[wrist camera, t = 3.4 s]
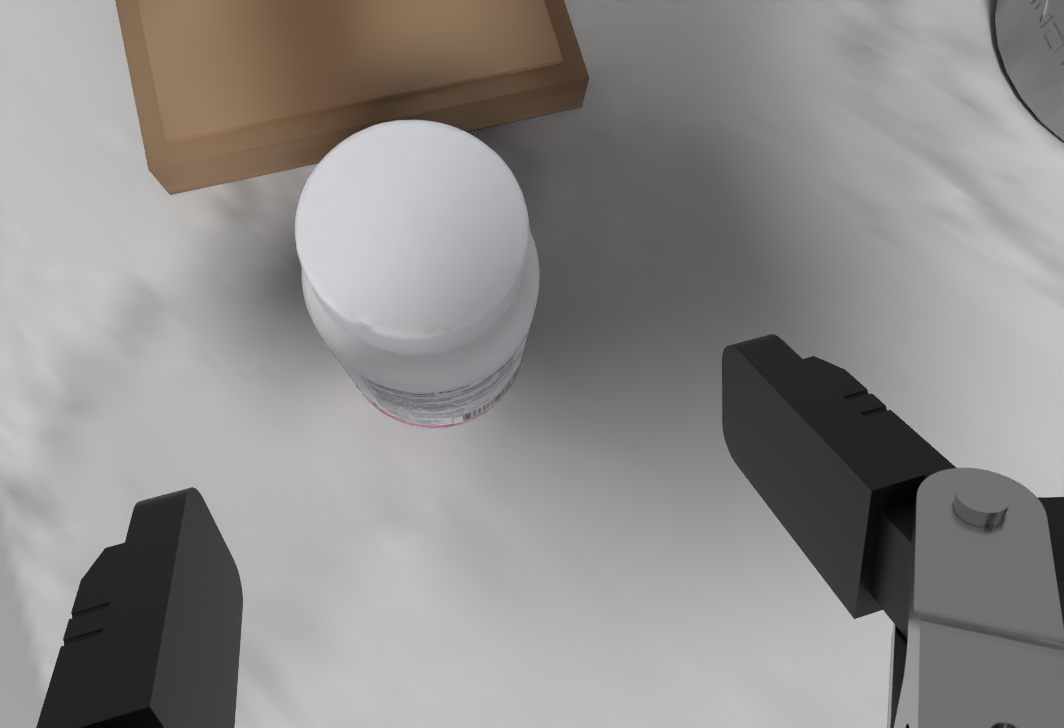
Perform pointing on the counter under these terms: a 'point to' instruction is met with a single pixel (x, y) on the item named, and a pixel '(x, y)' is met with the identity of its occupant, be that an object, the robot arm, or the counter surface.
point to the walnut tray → (332, 75)
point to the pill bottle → (419, 269)
